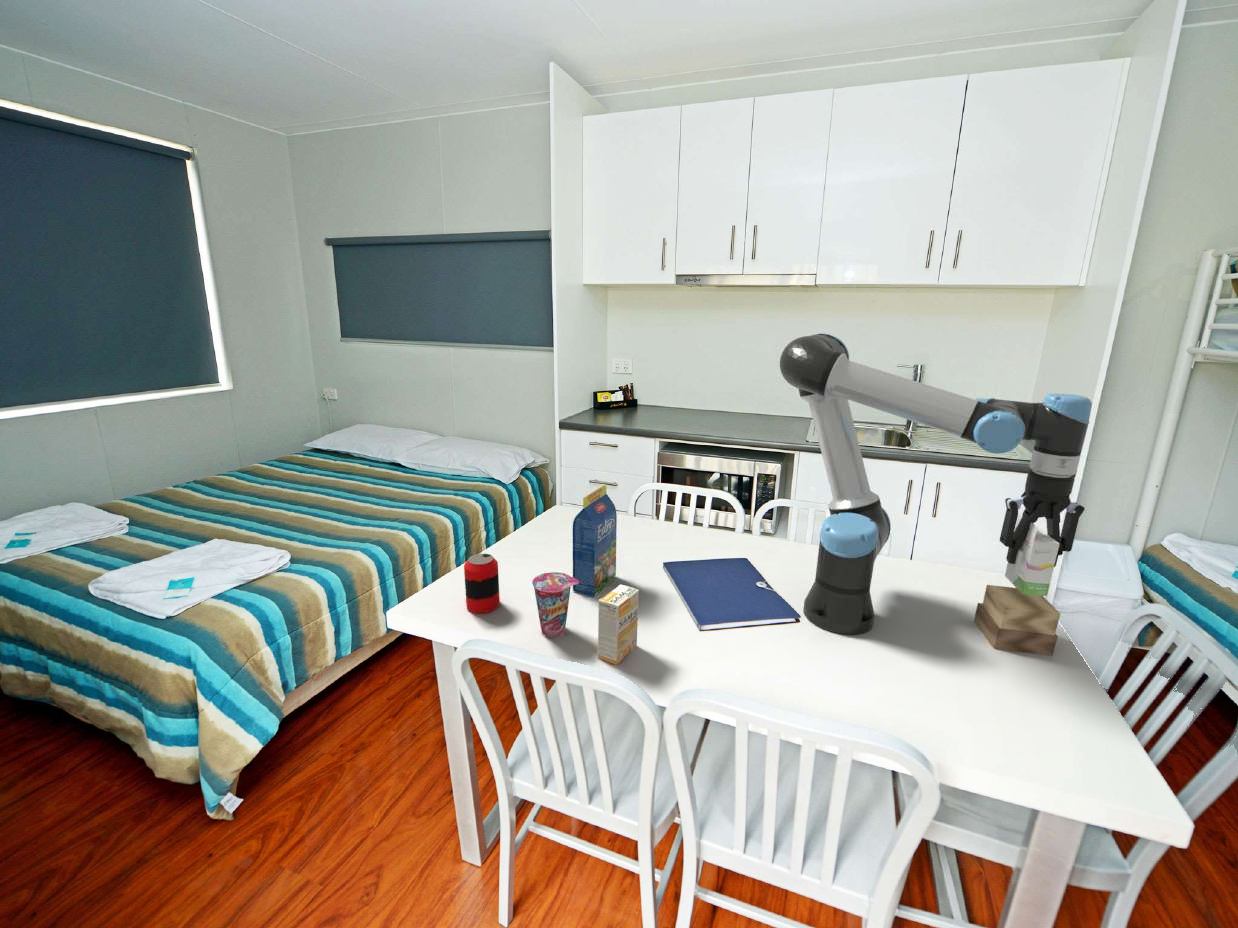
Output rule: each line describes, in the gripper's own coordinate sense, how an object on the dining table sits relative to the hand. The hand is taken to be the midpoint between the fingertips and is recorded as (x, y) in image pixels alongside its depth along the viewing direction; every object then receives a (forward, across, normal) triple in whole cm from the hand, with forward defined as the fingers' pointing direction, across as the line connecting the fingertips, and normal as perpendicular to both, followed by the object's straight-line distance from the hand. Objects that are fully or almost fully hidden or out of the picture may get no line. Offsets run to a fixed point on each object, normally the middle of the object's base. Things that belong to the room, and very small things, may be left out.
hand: (1027, 578), depth 120 cm
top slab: (+10, 0, 0) cm, 10 cm away
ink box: (+2, 0, 0) cm, 2 cm away
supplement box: (+14, -83, -23) cm, 87 cm away
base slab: (+15, 0, 0) cm, 15 cm away
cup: (+14, -98, -18) cm, 100 cm away
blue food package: (+14, -94, +4) cm, 95 cm away
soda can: (+14, -117, -12) cm, 119 cm away
